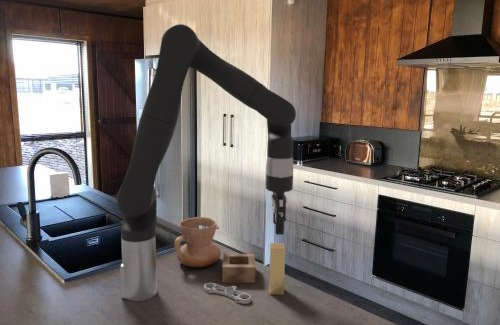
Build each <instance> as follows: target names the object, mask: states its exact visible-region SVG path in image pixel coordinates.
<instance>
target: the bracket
mask: <svg viewBox="0 0 500 325" xmlns="http://www.w3.org/2000/svg"><path fill="white" fill-rule="evenodd" d="M237 287H238V286H236V285H231V286H225V285H224V286H223V285H220V284H218V283H214V282H208V283H207V282H206V283H205V284H204V285H203V291H204V292H207V293H208V294H217V295H221V296H226V297H228V298H230V299H232V300H234V301H235V302H236V303H238V304H242V305H247V304H250V303H251V301H252V296H251V294H248V293H246V292H243V291H239V290H237Z"/></svg>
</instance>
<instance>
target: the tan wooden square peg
mask: <svg viewBox="0 0 500 325" xmlns="http://www.w3.org/2000/svg"><path fill="white" fill-rule="evenodd" d="M285 265H286V247H285V243H283V242H274V243H272V242H270V243H269V272H268V273H269V274H268V291H269V295H277V296H278V295H279V296H280V295H284V294H285V267H286V266H285Z"/></svg>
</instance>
